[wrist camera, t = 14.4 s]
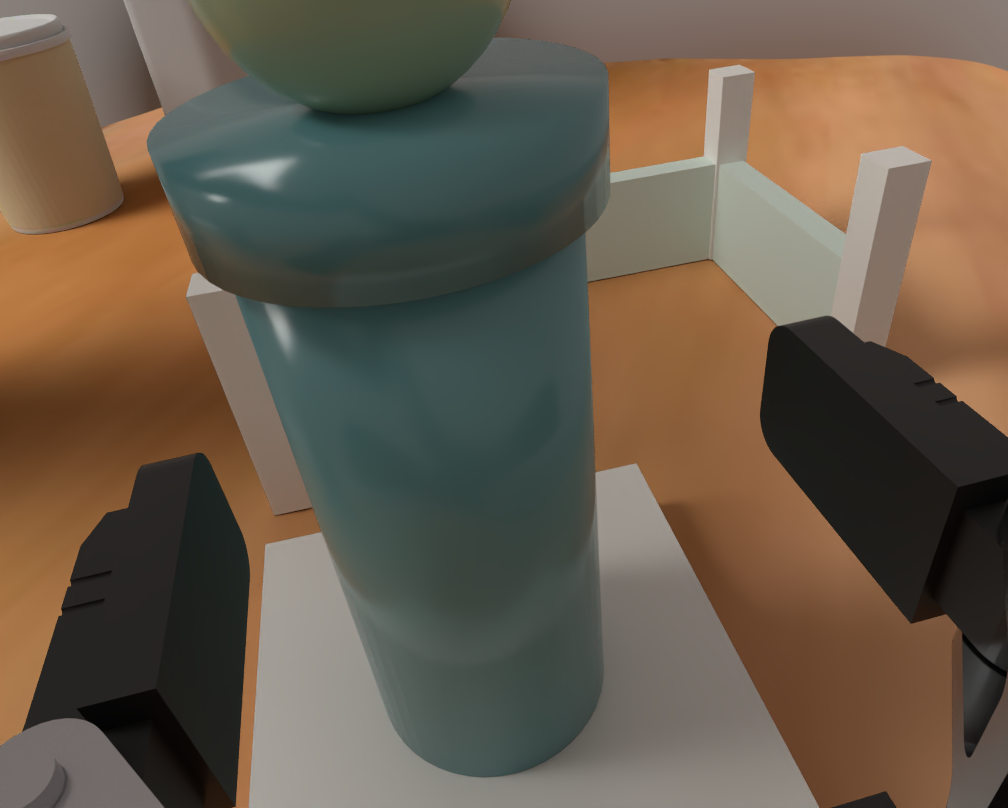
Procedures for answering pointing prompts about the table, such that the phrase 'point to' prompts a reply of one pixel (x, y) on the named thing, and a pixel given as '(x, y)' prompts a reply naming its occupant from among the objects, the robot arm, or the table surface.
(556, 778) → the stone tile
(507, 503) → the teal peg with ball
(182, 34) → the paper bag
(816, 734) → the table surface
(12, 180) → the coffee cup
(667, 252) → the rectangular frame with posts
